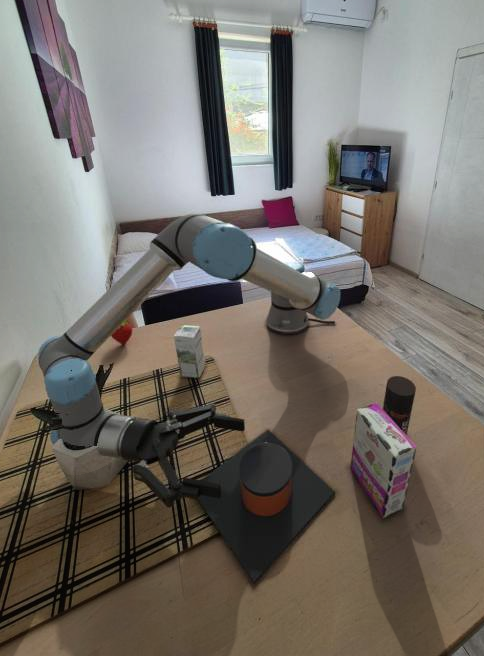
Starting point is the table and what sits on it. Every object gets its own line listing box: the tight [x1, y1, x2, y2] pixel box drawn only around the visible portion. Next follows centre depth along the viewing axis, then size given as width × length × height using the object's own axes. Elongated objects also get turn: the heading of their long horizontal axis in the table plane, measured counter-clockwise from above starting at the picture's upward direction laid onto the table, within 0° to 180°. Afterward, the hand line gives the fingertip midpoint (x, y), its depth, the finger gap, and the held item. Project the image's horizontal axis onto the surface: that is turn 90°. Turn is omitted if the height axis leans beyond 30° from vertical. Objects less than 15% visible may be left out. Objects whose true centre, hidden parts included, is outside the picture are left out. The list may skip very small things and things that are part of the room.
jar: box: [239, 443, 292, 516], centre depth 62 cm, size 6×10×10 cm
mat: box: [196, 429, 336, 585], centre depth 64 cm, size 20×20×1 cm
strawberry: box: [110, 321, 133, 346], centre depth 106 cm, size 6×8×10 cm
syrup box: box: [173, 324, 206, 379], centre depth 93 cm, size 6×6×14 cm
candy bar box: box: [350, 402, 417, 519], centre depth 61 cm, size 11×5×16 cm, turn 23°
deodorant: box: [382, 375, 417, 437], centre depth 73 cm, size 6×6×15 cm
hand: (233, 455), depth 61 cm, fingers open, 13 cm apart
